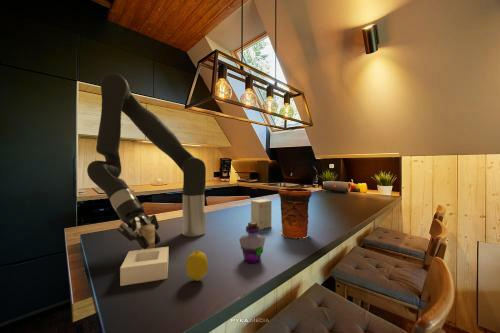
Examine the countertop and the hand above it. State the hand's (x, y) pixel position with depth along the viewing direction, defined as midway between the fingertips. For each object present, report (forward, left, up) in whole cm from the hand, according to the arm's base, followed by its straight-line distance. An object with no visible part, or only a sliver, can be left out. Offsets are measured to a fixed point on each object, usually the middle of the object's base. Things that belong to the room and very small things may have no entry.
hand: (152, 244), depth 70 cm
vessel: (-56, -6, -4) cm, 57 cm away
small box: (-46, -20, -4) cm, 51 cm away
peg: (+1, -1, -4) cm, 5 cm away
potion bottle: (-30, +12, -4) cm, 33 cm away
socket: (+1, +10, -4) cm, 11 cm away
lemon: (-12, +19, -4) cm, 23 cm away
